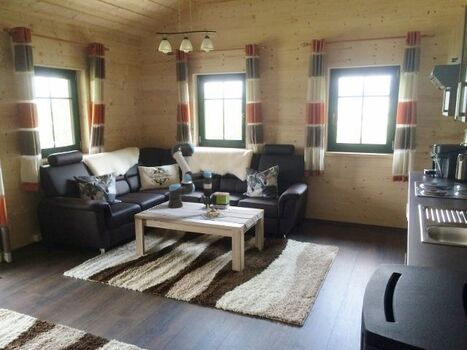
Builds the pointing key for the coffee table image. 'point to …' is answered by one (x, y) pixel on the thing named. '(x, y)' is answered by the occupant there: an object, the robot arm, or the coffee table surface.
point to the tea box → (221, 200)
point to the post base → (213, 217)
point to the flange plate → (212, 213)
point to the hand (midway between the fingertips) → (207, 211)
